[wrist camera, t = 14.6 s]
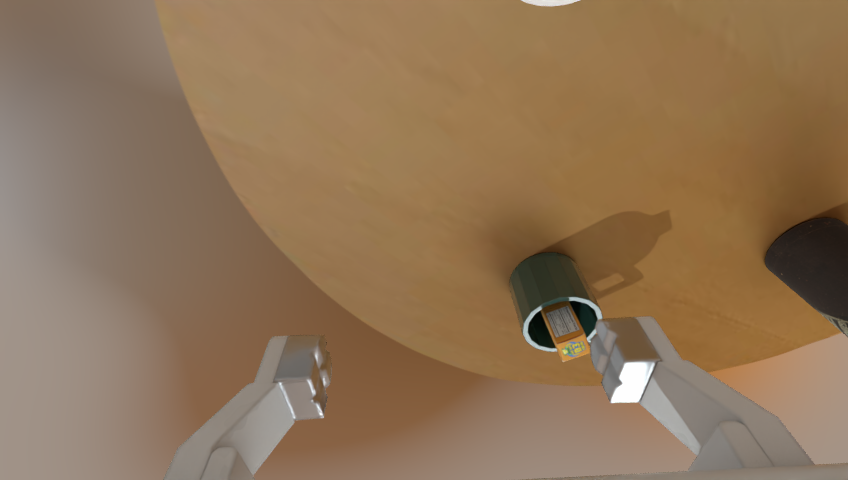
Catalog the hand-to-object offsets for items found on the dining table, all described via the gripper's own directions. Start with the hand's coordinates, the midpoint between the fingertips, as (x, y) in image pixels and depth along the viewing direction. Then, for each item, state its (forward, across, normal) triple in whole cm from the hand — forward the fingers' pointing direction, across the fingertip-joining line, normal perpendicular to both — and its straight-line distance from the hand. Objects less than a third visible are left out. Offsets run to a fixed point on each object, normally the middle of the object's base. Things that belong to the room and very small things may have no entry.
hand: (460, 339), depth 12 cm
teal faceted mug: (+29, -14, +25) cm, 41 cm away
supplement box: (+28, -13, +24) cm, 39 cm away
